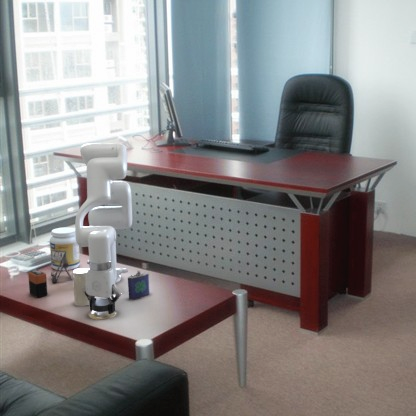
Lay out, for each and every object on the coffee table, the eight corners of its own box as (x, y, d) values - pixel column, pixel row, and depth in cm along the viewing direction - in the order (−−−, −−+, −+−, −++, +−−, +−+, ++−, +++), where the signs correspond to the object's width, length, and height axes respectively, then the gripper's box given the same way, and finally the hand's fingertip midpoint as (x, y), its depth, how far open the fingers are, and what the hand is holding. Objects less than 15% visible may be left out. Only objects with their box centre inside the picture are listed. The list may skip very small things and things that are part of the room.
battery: (37, 298, 260) (35, 273, 258) (29, 293, 265) (27, 269, 262) (48, 295, 263) (46, 271, 261) (39, 291, 268) (38, 267, 265)
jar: (87, 299, 261) (85, 267, 258) (94, 303, 256) (92, 271, 253) (72, 302, 257) (70, 270, 254) (78, 307, 252) (76, 274, 249)
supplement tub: (46, 270, 293) (43, 232, 289) (60, 261, 305) (57, 225, 301) (72, 272, 291) (69, 234, 287) (85, 263, 303) (83, 227, 299)
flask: (147, 293, 268) (146, 267, 266) (151, 294, 266) (150, 269, 264) (127, 298, 262) (126, 272, 259) (131, 300, 260) (130, 274, 257)
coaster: (109, 307, 253) (109, 306, 253) (121, 315, 246) (121, 314, 245) (83, 313, 246) (83, 312, 246) (95, 321, 239) (95, 320, 239)
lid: (97, 313, 241) (96, 307, 240) (88, 307, 246) (88, 301, 245) (116, 308, 245) (115, 303, 245) (107, 302, 251) (106, 297, 250)
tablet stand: (50, 277, 284) (49, 258, 282) (70, 275, 287) (69, 256, 285) (52, 283, 276) (51, 264, 274) (72, 281, 279) (71, 262, 277)
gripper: (73, 265, 241) (76, 311, 245) (115, 271, 236) (116, 318, 240) (86, 259, 248) (88, 304, 252) (127, 265, 243) (128, 311, 247)
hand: (102, 311), depth 246 cm, fingers closed on lid, 7 cm apart
